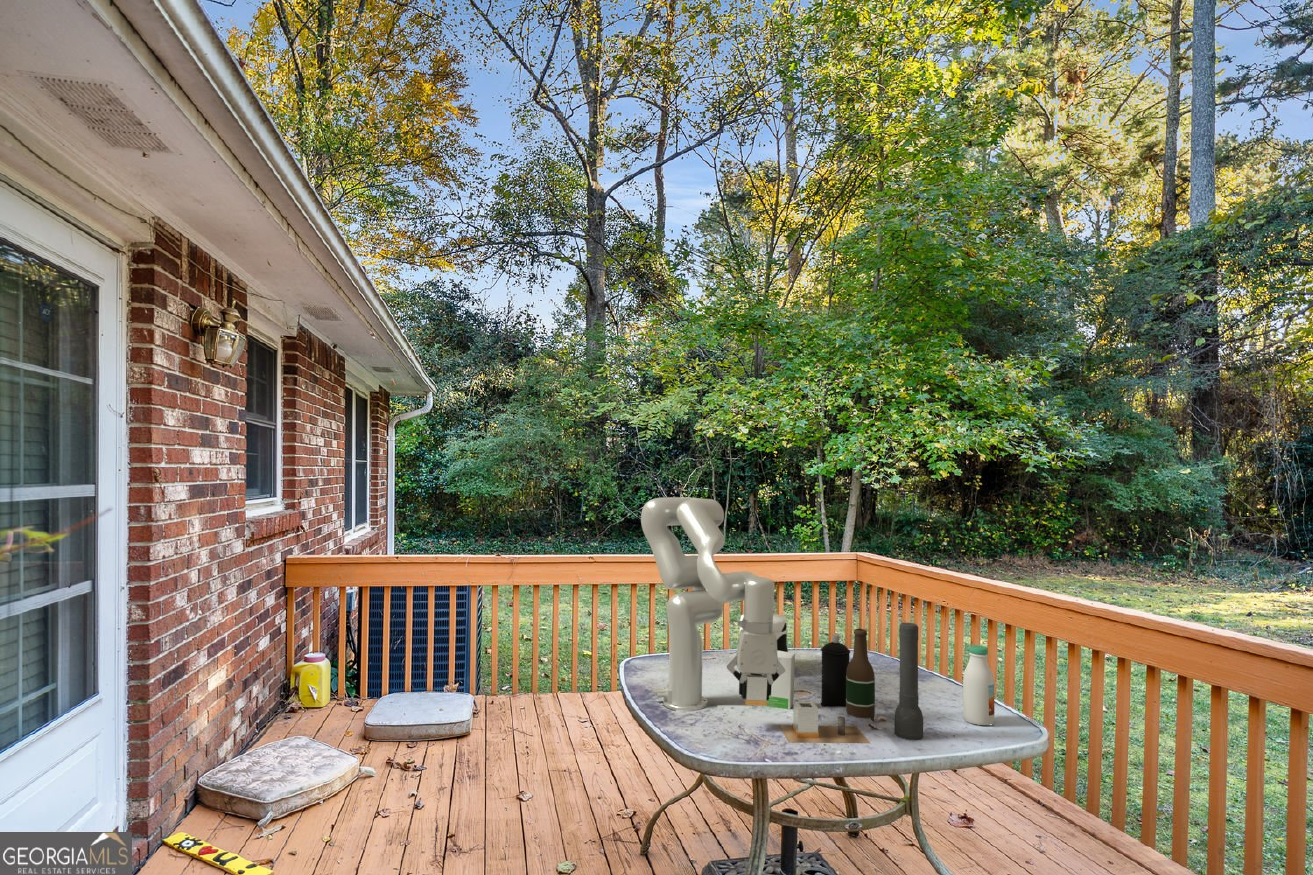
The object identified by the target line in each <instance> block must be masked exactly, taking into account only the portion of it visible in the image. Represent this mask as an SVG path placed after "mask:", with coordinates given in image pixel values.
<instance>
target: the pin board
mask: <svg viewBox="0 0 1313 875" xmlns="http://www.w3.org/2000/svg"><path fill="white" fill-rule="evenodd" d="M779 728H780V730H781V732H782V734H783V736H784V738H785V739H786V741H787V743H789V744H790V743H792V744H793V743H794V744H795V743H796V744H797V743H799V744H800V743H801V744H802V743H804V744H806V743H807V744H813V743H814V744H871V742H870V740H869V739H868V738H867V737H866V736H865V735H864V733H863V732H862V731H861V730H860V728H859V727H858V726H857V725H846V717H844V716H838V717H837V725H818V733H819V738H797V736H796V735H795V733H794V731H793V724H792V725H788V724H787V725H785V724H784V725H782V724H781V725H779Z"/></svg>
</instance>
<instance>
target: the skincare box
mask: <svg viewBox="0 0 1313 875" xmlns="http://www.w3.org/2000/svg"><path fill="white" fill-rule="evenodd" d="M777 655H778V660H779V662H780V663H781V664H782V666H783V667H784V668H785V670H786V671H785V672H784V673H783V674H782V675H780V676H779V677H778V678H777V679H776V680H775V681H774V682H773V684H772V688H771V696H769V700H767V706H766V707H770V708H778V709H785V710H786V709H787V710H791V709H792V707H794V701H795V700H794V698H795V696H794V694H795V670H796V668H795V665H796V662H795V661H796V653H795V652H791V651H790V652H789V651H788V652H784V651H777ZM777 669H778V667H777Z"/></svg>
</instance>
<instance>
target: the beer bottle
mask: <svg viewBox="0 0 1313 875" xmlns="http://www.w3.org/2000/svg"><path fill="white" fill-rule="evenodd" d="M853 634H854V639H853V653H852V658H851V660H849V664H848V667H847V671H846V707H845V711H846V714H847V715H848V716H851V717H854V718H855V719H856V718H857V719H870V720H871V721H872V722H875V719H876V718H875V716H876V708H875V707H876V677H875V671H874V668H873V666H872V664H871V662H870V661H869V656H868V642H867V641H868V640H867V639H868V638H867V635H868V634H869V633H868V631H867V629H865V628H854V630H853Z"/></svg>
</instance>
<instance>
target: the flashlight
mask: <svg viewBox="0 0 1313 875" xmlns="http://www.w3.org/2000/svg"><path fill="white" fill-rule="evenodd" d="M898 627H899V628H898V630H899V631H898V632H899V633H898V636H899V637H898V639H899V691H898V701H899V702H898V705H897V706H896V708H895V711H894V718H893V719H894V721H893V723H894V724H893V726H894V728H893V734H894V735H895V736H897V737H898V738H901V739H903V740H907V741H920V740H923V739H924V715H923V712H922V710H921V708H920V706H919V626H918V624H917V623H913V622H900V624H899V626H898Z"/></svg>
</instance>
